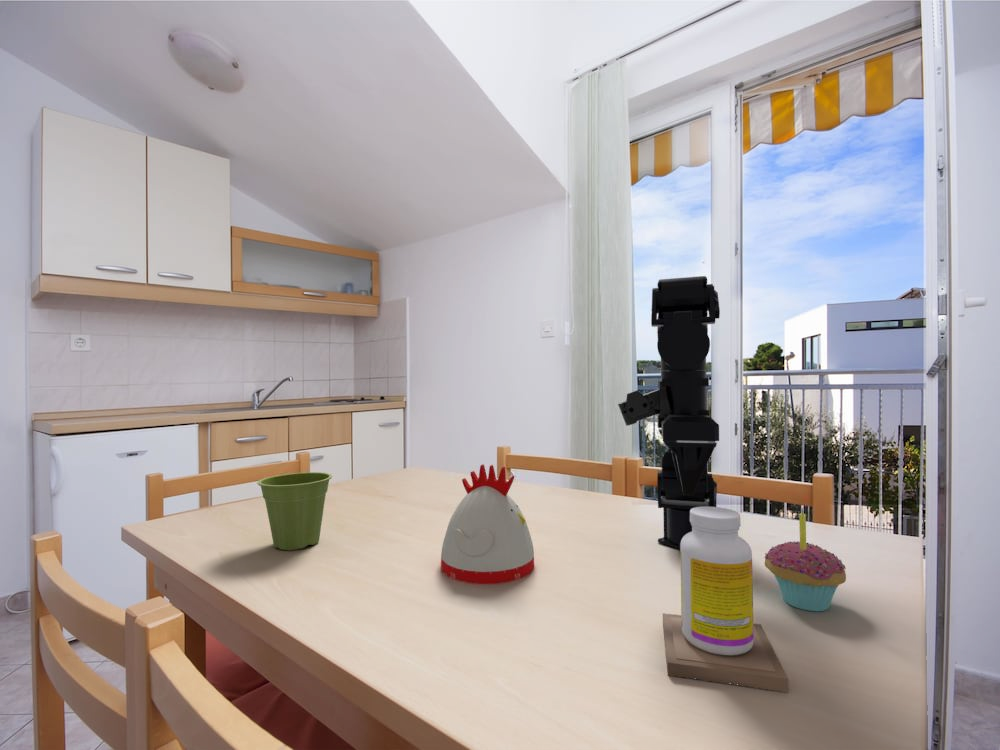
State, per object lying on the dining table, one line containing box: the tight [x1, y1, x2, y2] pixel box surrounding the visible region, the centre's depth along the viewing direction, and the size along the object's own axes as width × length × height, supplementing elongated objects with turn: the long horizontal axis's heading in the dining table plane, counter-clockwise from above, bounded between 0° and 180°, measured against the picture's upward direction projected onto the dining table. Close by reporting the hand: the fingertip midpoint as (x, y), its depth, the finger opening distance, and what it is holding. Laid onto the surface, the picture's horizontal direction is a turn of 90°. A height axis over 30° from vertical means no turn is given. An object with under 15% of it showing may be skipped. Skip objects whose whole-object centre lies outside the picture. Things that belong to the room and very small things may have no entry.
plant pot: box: [256, 471, 333, 551], centre depth 85 cm, size 12×12×11 cm
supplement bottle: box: [679, 506, 754, 655], centre depth 50 cm, size 7×7×13 cm
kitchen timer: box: [440, 463, 535, 585], centre depth 74 cm, size 14×14×15 cm
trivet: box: [662, 613, 789, 693], centre depth 49 cm, size 10×10×1 cm
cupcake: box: [764, 507, 847, 612], centre depth 61 cm, size 9×8×12 cm
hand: (684, 487), depth 66 cm, fingers open, 9 cm apart
